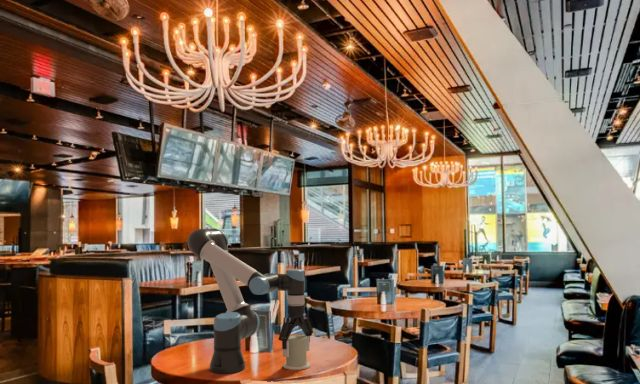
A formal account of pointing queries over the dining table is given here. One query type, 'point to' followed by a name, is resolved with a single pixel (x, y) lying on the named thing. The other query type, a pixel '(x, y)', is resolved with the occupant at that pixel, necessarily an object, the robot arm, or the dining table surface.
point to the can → (297, 351)
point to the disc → (296, 367)
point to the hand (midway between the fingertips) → (296, 353)
